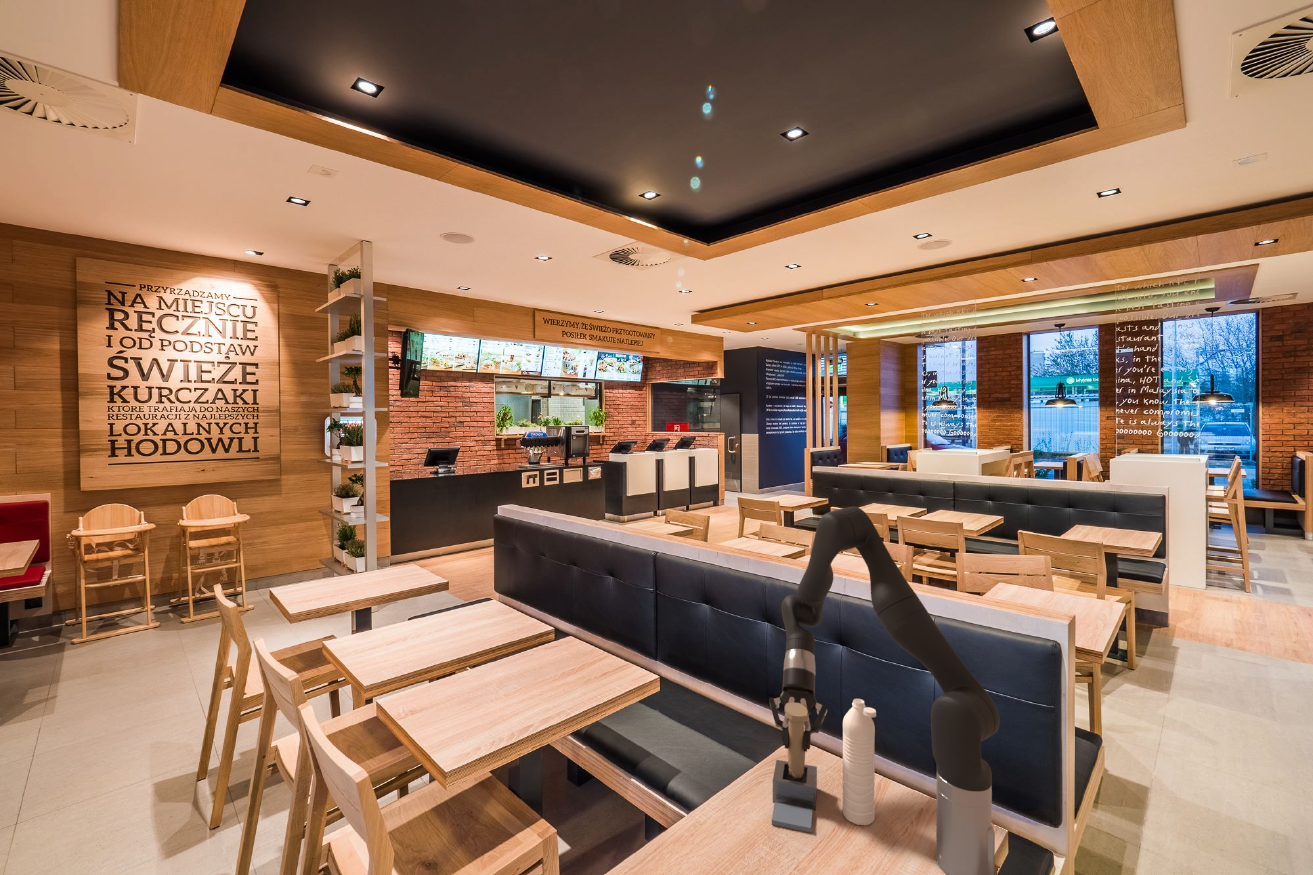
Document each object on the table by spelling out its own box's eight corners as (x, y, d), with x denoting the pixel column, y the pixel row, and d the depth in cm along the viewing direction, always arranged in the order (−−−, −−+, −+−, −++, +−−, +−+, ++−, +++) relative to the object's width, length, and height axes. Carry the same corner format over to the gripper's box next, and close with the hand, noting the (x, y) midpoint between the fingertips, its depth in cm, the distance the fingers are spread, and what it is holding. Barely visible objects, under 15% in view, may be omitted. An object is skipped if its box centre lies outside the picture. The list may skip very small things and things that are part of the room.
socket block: (816, 787, 132) (816, 766, 132) (815, 810, 124) (815, 787, 124) (776, 780, 134) (776, 759, 134) (772, 802, 127) (772, 779, 126)
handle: (789, 783, 126) (789, 716, 126) (782, 766, 132) (782, 702, 132) (811, 783, 126) (810, 716, 126) (803, 765, 132) (802, 702, 132)
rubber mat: (812, 814, 123) (812, 809, 123) (811, 832, 117) (811, 827, 117) (774, 806, 125) (774, 802, 125) (771, 824, 119) (771, 819, 119)
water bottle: (836, 807, 125) (837, 694, 124) (863, 804, 126) (864, 692, 126) (858, 835, 116) (858, 714, 116) (887, 831, 117) (887, 711, 117)
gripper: (768, 662, 138) (762, 738, 127) (829, 670, 134) (828, 749, 122) (771, 675, 143) (765, 749, 132) (829, 682, 139) (829, 759, 127)
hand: (795, 748), depth 127 cm, fingers closed on handle, 3 cm apart
